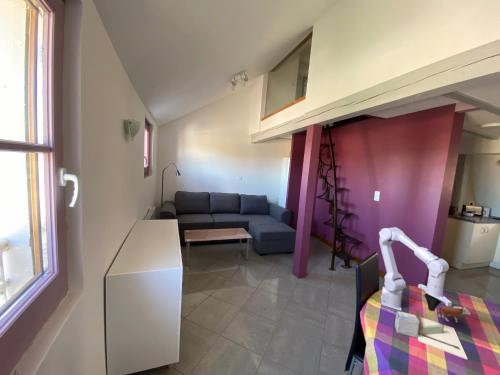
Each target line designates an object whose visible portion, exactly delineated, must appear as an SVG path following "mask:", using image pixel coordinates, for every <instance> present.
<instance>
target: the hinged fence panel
mask: <svg viewBox="0 0 500 375" xmlns="http://www.w3.org/2000/svg"><path fill="white" fill-rule="evenodd" d="M444 325H445V324H443V323H440V325H431V326H421V325H419V327H418V334H419V335H422V334H433V333H443V330H444Z"/></svg>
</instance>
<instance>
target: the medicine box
mask: <svg viewBox="0 0 500 375" xmlns="http://www.w3.org/2000/svg"><path fill="white" fill-rule="evenodd" d="M418 327H419V320H418V319H417V317H416V315H415V314H412V313H409V312H404V311H399V310H396V312H395V321H394V328H395V331H396V333H397V334H400V335H404V336H409V337H412V338H416V339H418V337H417V334H418Z"/></svg>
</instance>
